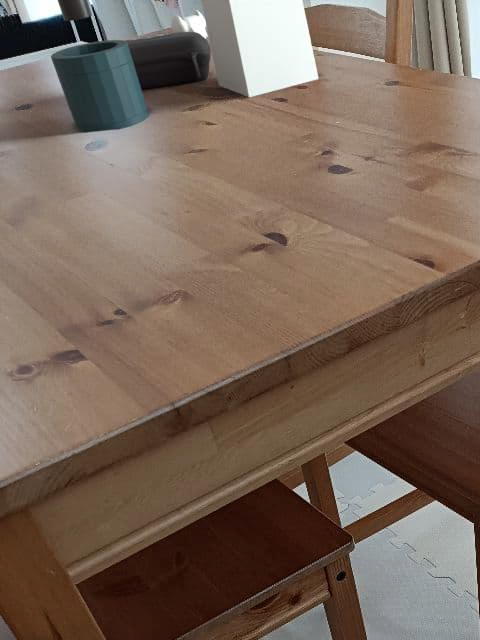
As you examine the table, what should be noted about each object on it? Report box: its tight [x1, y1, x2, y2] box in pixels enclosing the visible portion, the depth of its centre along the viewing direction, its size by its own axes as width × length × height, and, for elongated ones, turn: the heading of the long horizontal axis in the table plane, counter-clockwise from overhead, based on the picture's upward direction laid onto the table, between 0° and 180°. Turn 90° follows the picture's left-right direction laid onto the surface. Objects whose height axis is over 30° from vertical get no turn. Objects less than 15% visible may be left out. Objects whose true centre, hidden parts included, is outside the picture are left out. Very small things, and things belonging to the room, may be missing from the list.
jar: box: [50, 39, 149, 133], centre depth 109 cm, size 10×10×9 cm
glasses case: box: [124, 32, 212, 90], centre depth 125 cm, size 18×10×8 cm, turn 96°
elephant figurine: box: [170, 9, 209, 40], centre depth 144 cm, size 7×8×6 cm
